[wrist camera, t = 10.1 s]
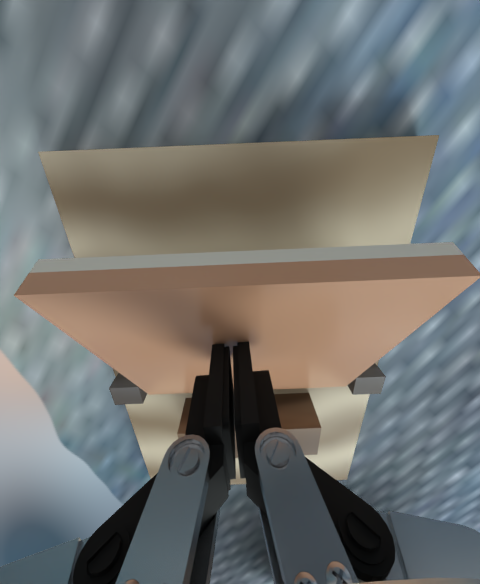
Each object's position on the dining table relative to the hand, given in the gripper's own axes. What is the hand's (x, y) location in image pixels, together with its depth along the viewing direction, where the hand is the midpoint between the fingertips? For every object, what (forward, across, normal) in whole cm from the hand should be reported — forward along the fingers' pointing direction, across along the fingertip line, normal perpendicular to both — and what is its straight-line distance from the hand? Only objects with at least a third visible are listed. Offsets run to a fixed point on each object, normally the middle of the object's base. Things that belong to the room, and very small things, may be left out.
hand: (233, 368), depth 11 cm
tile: (+1, -1, +1) cm, 2 cm away
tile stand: (+7, -1, +5) cm, 9 cm away
